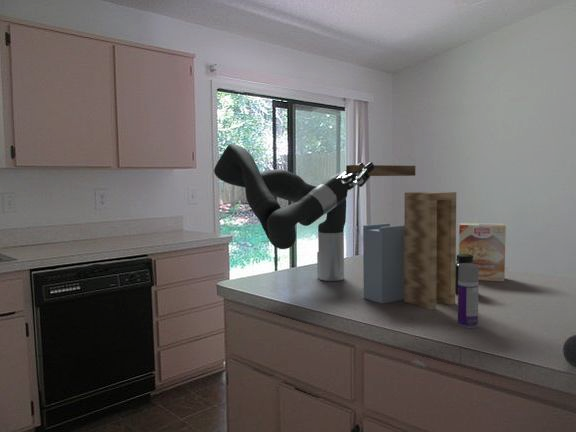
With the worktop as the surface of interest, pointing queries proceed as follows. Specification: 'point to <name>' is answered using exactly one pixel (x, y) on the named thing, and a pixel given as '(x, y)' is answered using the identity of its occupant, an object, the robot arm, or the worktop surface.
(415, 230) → the slotted wooden post
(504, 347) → the worktop surface
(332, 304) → the worktop surface
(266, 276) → the worktop surface
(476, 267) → the container
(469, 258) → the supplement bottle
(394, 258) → the tall grey pillar
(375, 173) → the rail
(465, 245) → the coffeecake box
